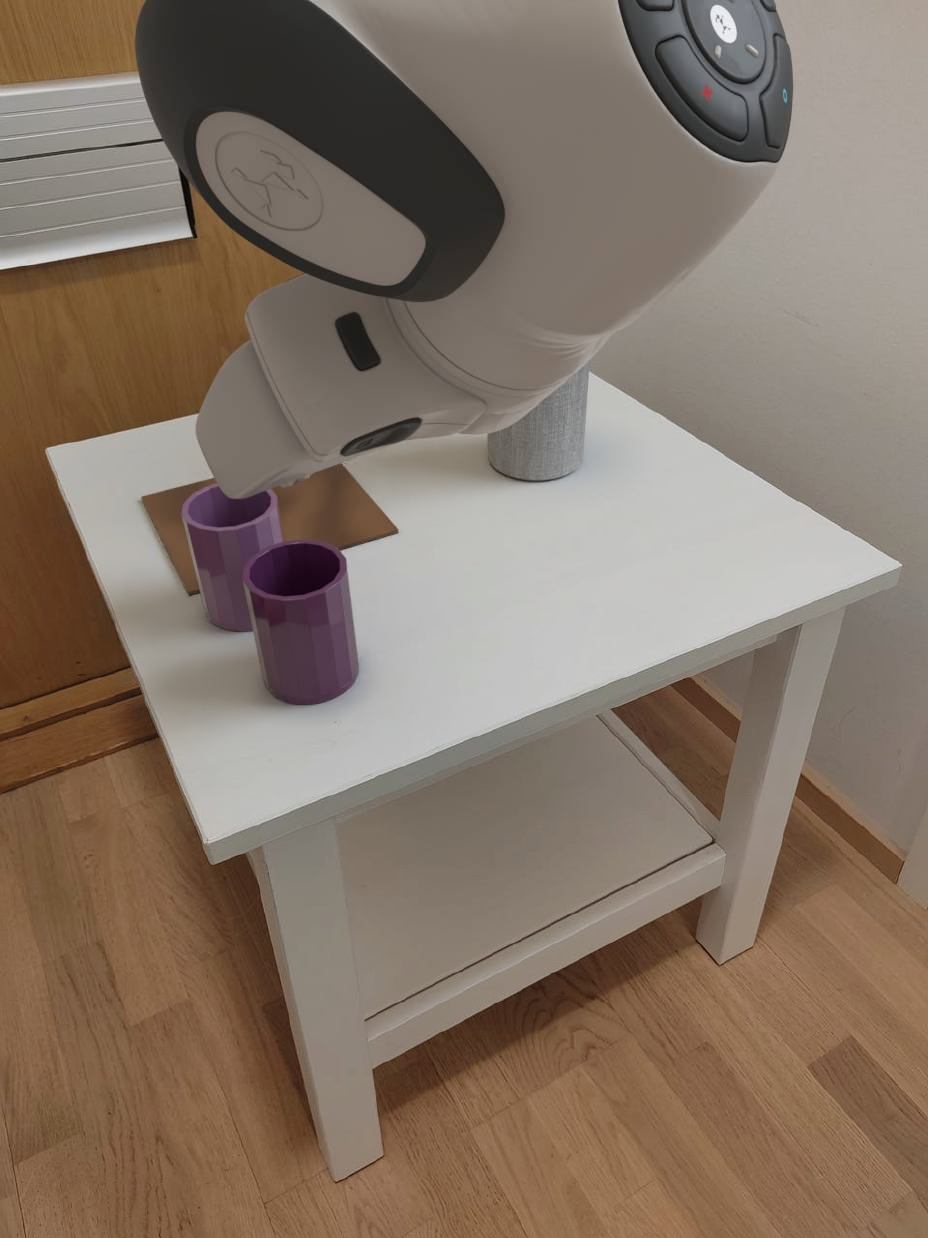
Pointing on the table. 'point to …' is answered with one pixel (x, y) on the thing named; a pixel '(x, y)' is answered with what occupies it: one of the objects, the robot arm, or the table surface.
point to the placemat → (282, 516)
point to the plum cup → (302, 620)
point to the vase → (545, 435)
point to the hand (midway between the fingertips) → (365, 442)
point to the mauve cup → (228, 547)
